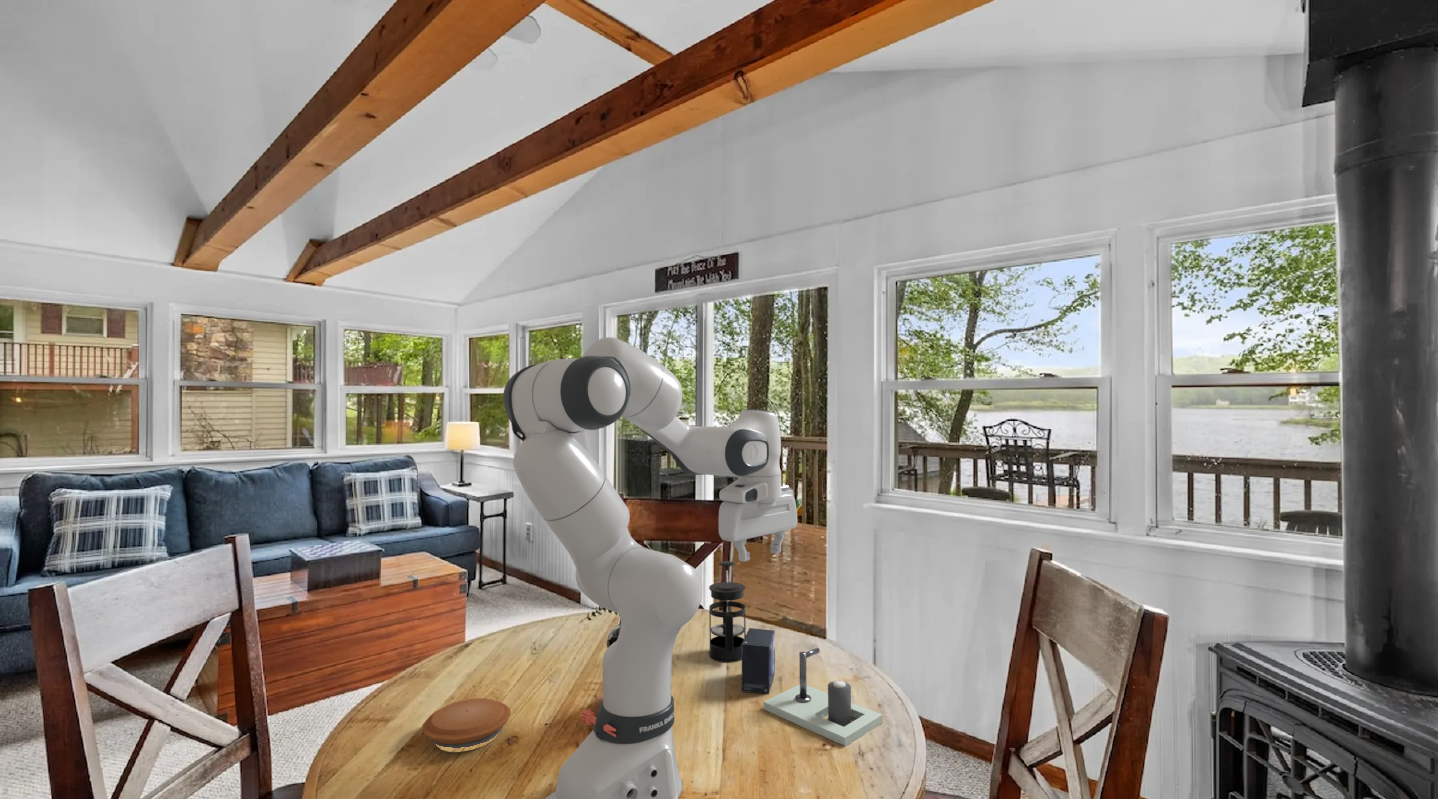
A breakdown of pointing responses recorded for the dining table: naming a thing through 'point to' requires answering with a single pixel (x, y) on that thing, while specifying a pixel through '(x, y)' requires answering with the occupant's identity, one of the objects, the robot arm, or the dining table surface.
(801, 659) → the grey angled rod part
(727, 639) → the french press
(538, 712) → the dining table surface
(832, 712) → the grey cylinder with ball
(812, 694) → the pale green board
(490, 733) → the pie
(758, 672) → the small box
